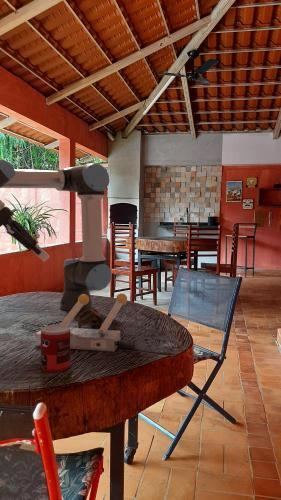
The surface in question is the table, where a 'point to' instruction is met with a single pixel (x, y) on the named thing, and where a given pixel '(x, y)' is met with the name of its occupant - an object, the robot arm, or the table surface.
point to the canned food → (55, 348)
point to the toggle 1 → (75, 309)
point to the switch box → (93, 340)
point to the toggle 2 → (113, 312)
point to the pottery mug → (89, 318)
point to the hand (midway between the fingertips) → (47, 259)
